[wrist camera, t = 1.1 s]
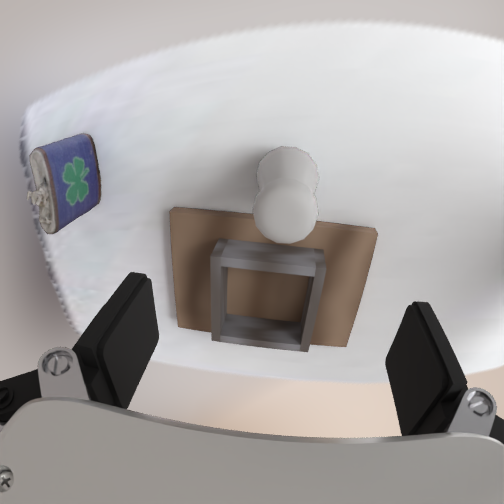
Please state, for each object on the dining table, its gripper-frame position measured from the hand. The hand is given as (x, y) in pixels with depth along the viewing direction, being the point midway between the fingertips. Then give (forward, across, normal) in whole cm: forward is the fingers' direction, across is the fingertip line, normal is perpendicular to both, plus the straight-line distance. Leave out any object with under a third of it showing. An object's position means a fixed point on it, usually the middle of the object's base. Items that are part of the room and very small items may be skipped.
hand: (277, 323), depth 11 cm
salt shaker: (+23, 0, 0) cm, 23 cm away
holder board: (+23, +1, +13) cm, 26 cm away
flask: (+24, +23, +1) cm, 33 cm away
